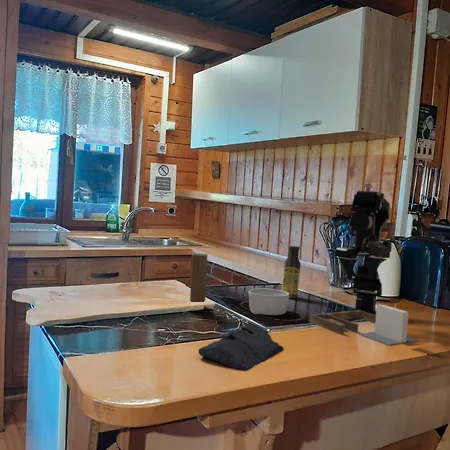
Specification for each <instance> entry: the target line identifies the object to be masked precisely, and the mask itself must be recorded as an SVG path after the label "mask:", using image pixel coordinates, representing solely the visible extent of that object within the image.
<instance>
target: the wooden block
mask: <svg viewBox="0 0 450 450" xmlns="http://www.w3.org/2000/svg"><path fill="white" fill-rule="evenodd" d="M191 258H192V259H191V260H192V261H191V275H190V276H191V278H190V292H189V293H190V294H189V302H190V301H191V302H204V301H205V302H206V289H207V288H206V285H207V272H208V271H207V270H208V269H207V268H208V254H206V253H197V252H196V253H193V254H192V256H191Z"/></svg>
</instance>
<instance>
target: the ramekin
mask: <svg viewBox="0 0 450 450" xmlns="http://www.w3.org/2000/svg"><path fill="white" fill-rule="evenodd" d="M289 299H290V298H289V293H288V292H285V291H282V289H275V288H268V287H267V288H263V287H262V288H258V287H257V288H251V289H249V290H248V301H249V302H248V305H249V310H250V311H251V313H252V314H254V315H259V314H260V315H264V316H265V315H266V316H279V315H284V314H285V313H286V312H287V307H288V303H289Z"/></svg>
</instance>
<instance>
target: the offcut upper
mask: <svg viewBox="0 0 450 450" xmlns="http://www.w3.org/2000/svg"><path fill="white" fill-rule="evenodd" d="M326 320H329V321H332V322H334V323H337V324H340V325H342V326H344V330H345V324H343V323H340V322H338V321H335V320H333V319H326Z"/></svg>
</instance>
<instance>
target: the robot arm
mask: <svg viewBox="0 0 450 450" xmlns="http://www.w3.org/2000/svg"><path fill="white" fill-rule="evenodd" d="M350 211H351V212H353V215H351V217H350V219H349V225H350V226H349V227H350V228H351V229H352V230H353V231H354V232H352V233H351V237H354V241H353V245H351V246H350V247H337V248H335V250H334V251H335V252H334V256H335V257H337V259H338V260H339V261H340V263H341V265H342V267H343V270H344V272H345V274H346V277H347V280H348V281H350V282H351V281H353V284H352V285H353V289H352V292H353V294H356V298H355V308H354V307H353V308H352V310H351V311H356V310H361V311H364V312H367V313H370V314H373V315H374V314H376V308H377V297H382V295H383V284H382V282H381V279H380V275H379V272H378V269H379V267H380V265H381V264H382V263H384V262H385V261H387V260H388V259H390V257H391V252H392V246H393V244H392V241H389V240H384V241H381V237H382V231H383V230H384V229H385V228H386V227H387V225H388V222H389V220H391V204H390V203H389V202H388V200H387V199H386V198H385V193H383V192H379V191H376V190H374V191H373V190H357V191H356V193H355V194H354V196H353V200H352V204H351V208H350ZM358 256H359V257H363V256H364V257H363V263H362V264H361V265H359V266H358V267H357V269H356V275H354V268H355V264H356V263H357V262H358V259H357V257H358Z"/></svg>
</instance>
